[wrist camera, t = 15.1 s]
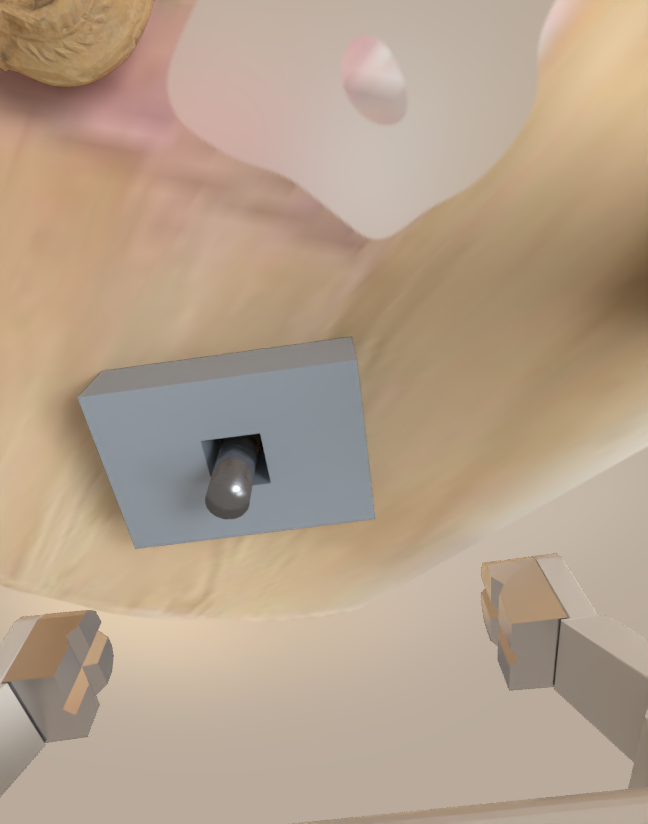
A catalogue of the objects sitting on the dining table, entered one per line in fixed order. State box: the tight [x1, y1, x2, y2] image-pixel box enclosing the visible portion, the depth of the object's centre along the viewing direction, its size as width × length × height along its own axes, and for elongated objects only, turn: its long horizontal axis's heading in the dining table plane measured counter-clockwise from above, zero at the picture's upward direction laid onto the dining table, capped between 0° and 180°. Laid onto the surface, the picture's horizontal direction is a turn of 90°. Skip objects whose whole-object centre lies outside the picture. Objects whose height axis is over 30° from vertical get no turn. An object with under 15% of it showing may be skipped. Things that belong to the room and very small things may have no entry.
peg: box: [205, 433, 261, 519], centre depth 40 cm, size 3×3×10 cm
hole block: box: [77, 337, 375, 549], centre depth 42 cm, size 20×14×5 cm
